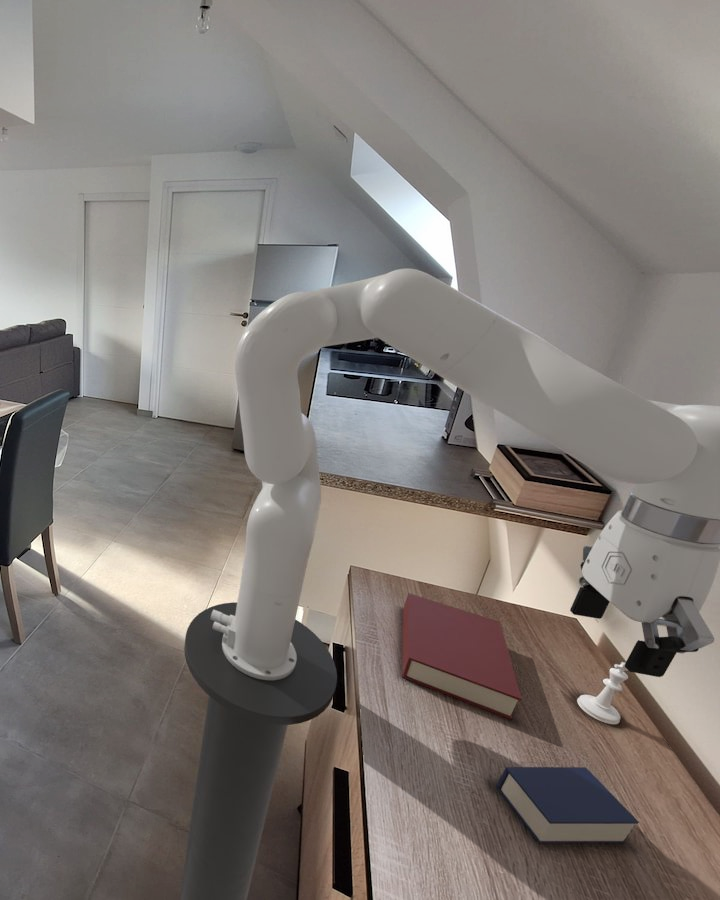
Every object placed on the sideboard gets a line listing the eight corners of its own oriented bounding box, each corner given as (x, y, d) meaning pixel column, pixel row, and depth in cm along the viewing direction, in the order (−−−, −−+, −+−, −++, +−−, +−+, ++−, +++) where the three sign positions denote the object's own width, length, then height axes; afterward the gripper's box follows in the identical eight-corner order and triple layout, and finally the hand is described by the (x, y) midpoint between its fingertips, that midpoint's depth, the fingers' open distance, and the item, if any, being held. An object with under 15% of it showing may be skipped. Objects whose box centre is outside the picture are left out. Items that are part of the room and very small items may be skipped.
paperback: (538, 843, 55) (550, 822, 54) (495, 786, 61) (505, 766, 60) (624, 842, 55) (639, 822, 54) (574, 787, 62) (585, 767, 60)
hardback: (511, 720, 71) (522, 699, 69) (402, 677, 78) (409, 657, 76) (492, 640, 87) (499, 621, 85) (402, 610, 94) (408, 593, 92)
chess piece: (627, 728, 70) (657, 680, 67) (588, 719, 71) (615, 671, 68) (606, 702, 75) (632, 655, 71) (570, 693, 76) (594, 647, 72)
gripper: (580, 483, 58) (535, 592, 64) (700, 555, 43) (626, 691, 49) (652, 490, 56) (599, 602, 62) (806, 569, 41) (716, 709, 47)
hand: (611, 641), depth 55 cm, fingers open, 9 cm apart
